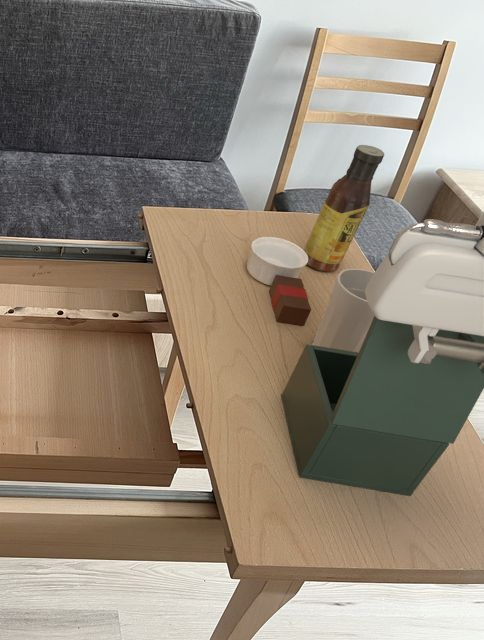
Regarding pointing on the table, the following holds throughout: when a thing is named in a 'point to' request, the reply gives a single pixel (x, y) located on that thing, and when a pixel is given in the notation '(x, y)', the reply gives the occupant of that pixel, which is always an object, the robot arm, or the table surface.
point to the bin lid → (412, 384)
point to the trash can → (347, 432)
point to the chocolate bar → (289, 300)
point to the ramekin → (275, 259)
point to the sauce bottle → (343, 211)
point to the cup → (346, 313)
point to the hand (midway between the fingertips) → (452, 365)
